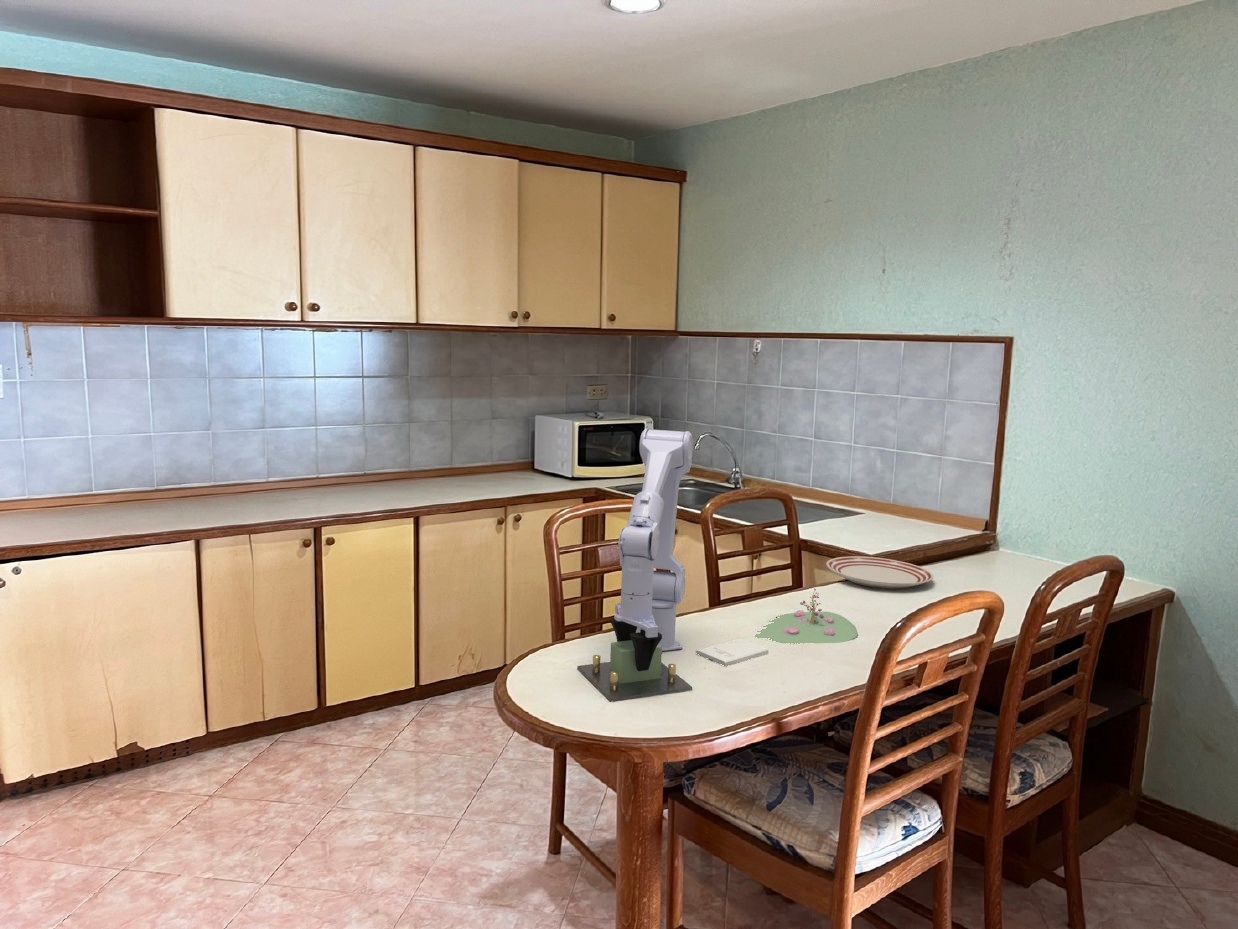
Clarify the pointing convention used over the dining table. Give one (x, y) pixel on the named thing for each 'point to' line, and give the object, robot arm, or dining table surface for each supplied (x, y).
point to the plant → (809, 627)
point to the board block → (632, 663)
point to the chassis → (624, 691)
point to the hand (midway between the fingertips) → (634, 662)
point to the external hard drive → (732, 651)
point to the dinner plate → (879, 572)
